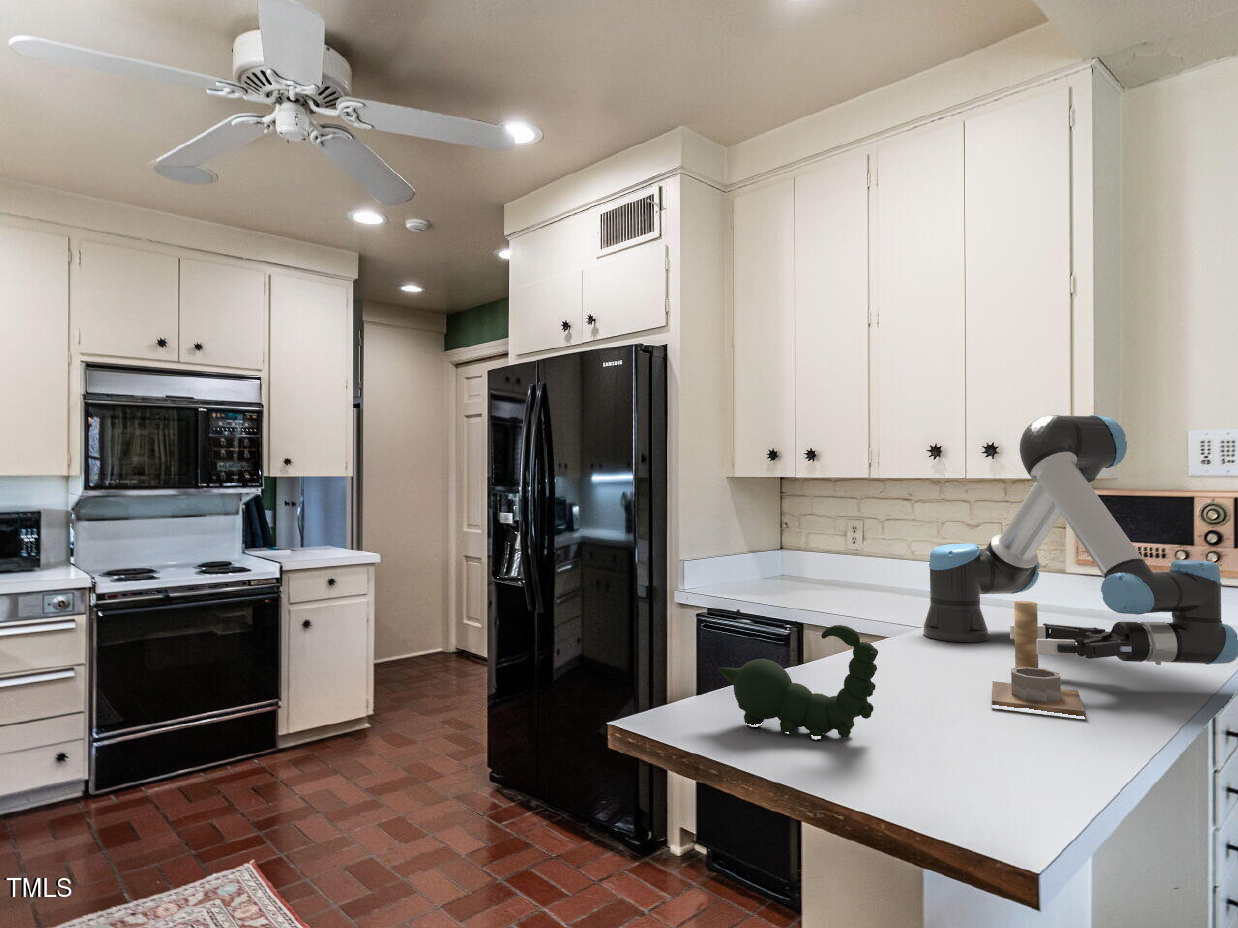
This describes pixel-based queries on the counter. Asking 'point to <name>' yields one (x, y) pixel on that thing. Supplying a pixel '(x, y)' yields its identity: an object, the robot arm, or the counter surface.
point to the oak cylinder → (1026, 634)
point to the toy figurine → (806, 691)
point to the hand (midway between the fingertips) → (1023, 638)
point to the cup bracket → (1037, 692)
